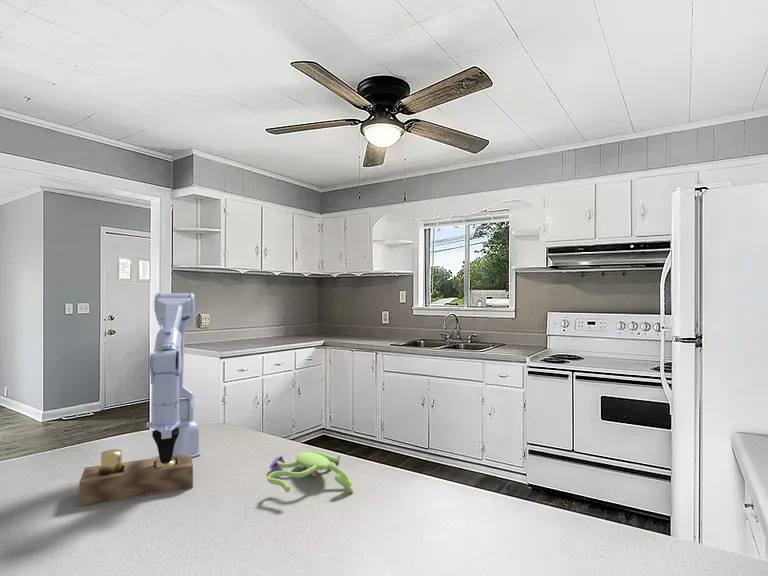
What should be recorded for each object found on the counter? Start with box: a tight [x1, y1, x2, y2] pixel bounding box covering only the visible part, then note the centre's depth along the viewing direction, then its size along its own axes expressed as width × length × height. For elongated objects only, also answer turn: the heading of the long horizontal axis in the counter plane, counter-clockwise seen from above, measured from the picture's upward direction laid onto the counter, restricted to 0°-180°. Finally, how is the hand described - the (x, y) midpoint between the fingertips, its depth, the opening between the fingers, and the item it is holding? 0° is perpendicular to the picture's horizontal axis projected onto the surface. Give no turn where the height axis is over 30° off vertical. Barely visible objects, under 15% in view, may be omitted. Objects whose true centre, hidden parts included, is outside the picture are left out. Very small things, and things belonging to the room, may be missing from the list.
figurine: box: [266, 450, 354, 494], centre depth 116 cm, size 18×27×6 cm
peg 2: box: [156, 459, 175, 468], centre depth 113 cm, size 4×4×5 cm
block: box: [78, 453, 194, 507], centre depth 110 cm, size 22×9×5 cm, turn 115°
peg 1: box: [100, 448, 123, 476], centre depth 108 cm, size 4×4×5 cm
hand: (165, 461), depth 113 cm, fingers closed, pressing on peg 2
